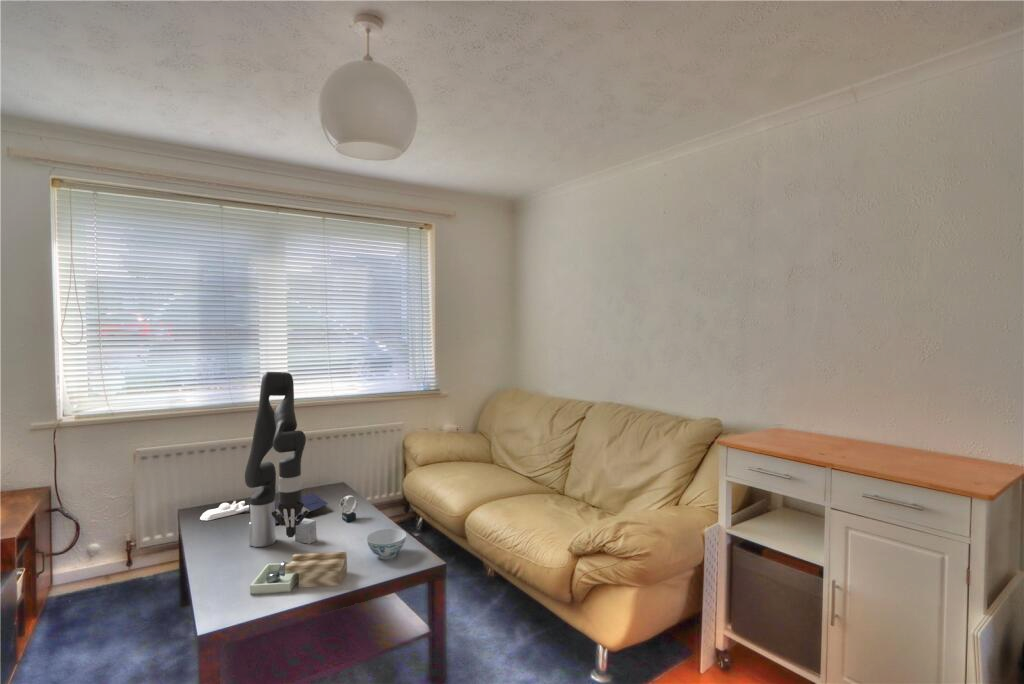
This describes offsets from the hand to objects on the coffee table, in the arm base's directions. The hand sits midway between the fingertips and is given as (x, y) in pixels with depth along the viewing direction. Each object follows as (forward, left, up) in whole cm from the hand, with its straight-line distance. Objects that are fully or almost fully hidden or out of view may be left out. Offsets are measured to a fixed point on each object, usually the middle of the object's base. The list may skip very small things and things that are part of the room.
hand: (291, 536), depth 185 cm
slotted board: (+8, 0, -16) cm, 18 cm away
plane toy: (-53, +71, -16) cm, 91 cm away
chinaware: (+31, +17, -16) cm, 38 cm away
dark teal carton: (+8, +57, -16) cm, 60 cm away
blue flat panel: (-22, +69, -16) cm, 75 cm away
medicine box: (-5, +35, -16) cm, 39 cm away
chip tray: (-5, 0, -16) cm, 17 cm away
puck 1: (-6, 0, -13) cm, 15 cm away
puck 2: (-2, 0, -12) cm, 12 cm away
